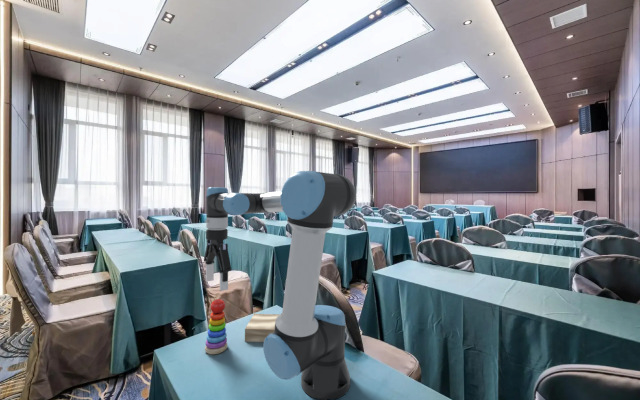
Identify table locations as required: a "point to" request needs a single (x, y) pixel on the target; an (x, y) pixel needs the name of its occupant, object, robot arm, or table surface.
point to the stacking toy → (216, 329)
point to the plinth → (260, 327)
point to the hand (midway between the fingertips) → (216, 285)
